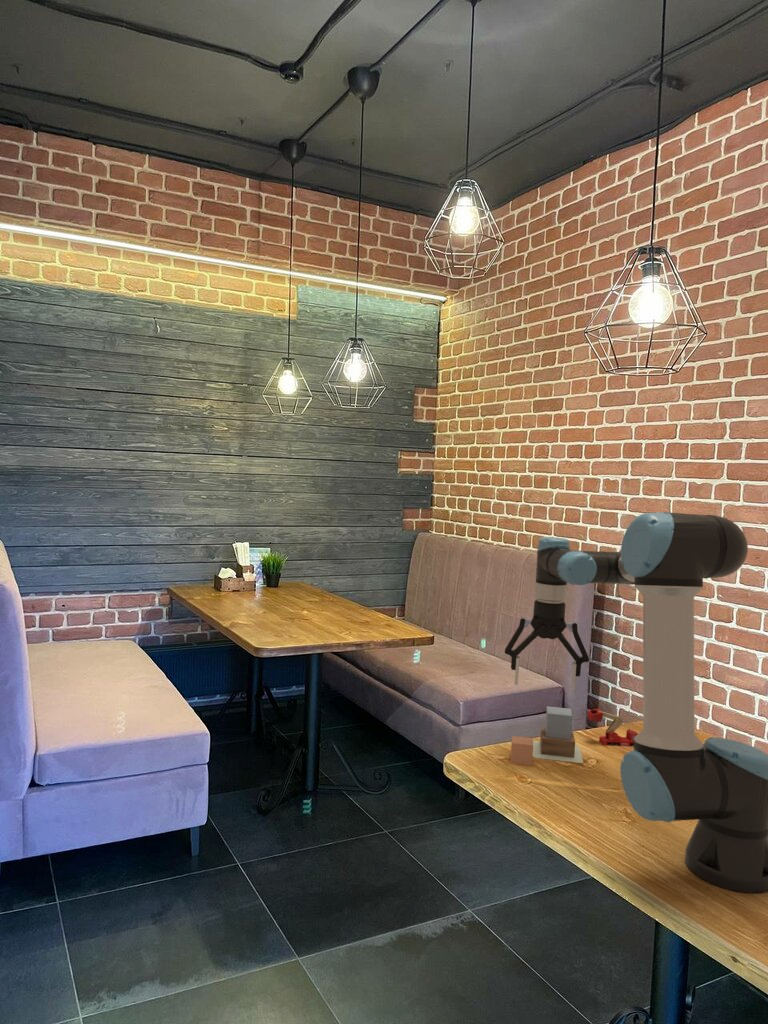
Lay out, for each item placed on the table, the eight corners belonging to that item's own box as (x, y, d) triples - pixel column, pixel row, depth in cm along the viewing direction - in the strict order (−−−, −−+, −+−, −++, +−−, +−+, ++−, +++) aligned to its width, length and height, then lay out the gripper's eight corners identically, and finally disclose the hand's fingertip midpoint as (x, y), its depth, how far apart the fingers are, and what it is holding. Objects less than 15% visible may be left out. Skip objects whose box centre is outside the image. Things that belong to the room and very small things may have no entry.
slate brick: (570, 739, 188) (572, 716, 188) (546, 737, 189) (547, 713, 189) (569, 731, 194) (570, 708, 194) (545, 729, 195) (546, 706, 195)
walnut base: (574, 757, 187) (575, 741, 187) (541, 754, 188) (542, 738, 188) (571, 746, 195) (572, 731, 195) (540, 742, 196) (541, 727, 196)
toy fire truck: (640, 750, 198) (643, 714, 197) (589, 748, 197) (591, 712, 196) (635, 745, 201) (638, 710, 201) (584, 744, 200) (587, 708, 200)
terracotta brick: (531, 770, 180) (533, 745, 180) (510, 767, 181) (511, 742, 181) (531, 762, 185) (532, 738, 185) (510, 759, 186) (512, 735, 186)
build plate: (583, 767, 184) (583, 763, 184) (533, 761, 186) (533, 757, 186) (579, 749, 196) (579, 746, 196) (531, 744, 198) (532, 740, 197)
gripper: (601, 602, 186) (595, 687, 188) (499, 594, 191) (494, 676, 192) (604, 607, 179) (597, 695, 180) (497, 598, 184) (492, 684, 185)
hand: (544, 686), depth 186 cm, fingers open, 13 cm apart
